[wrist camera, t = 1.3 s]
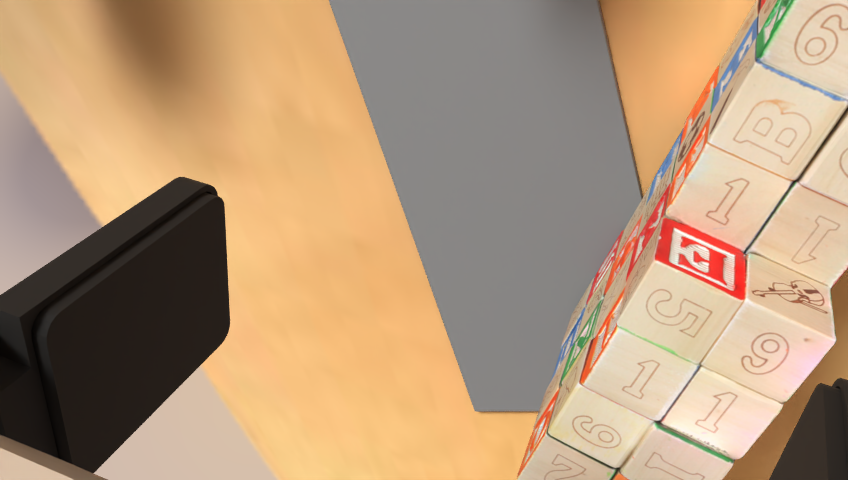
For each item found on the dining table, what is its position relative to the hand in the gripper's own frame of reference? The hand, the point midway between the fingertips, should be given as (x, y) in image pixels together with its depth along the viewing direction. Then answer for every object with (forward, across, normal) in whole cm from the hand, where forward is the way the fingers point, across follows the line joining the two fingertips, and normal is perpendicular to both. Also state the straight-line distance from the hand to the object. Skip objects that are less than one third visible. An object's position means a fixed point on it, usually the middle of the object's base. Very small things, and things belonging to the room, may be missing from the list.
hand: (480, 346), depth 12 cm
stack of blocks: (+26, -5, +8) cm, 27 cm away
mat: (+26, +5, +12) cm, 29 cm away
